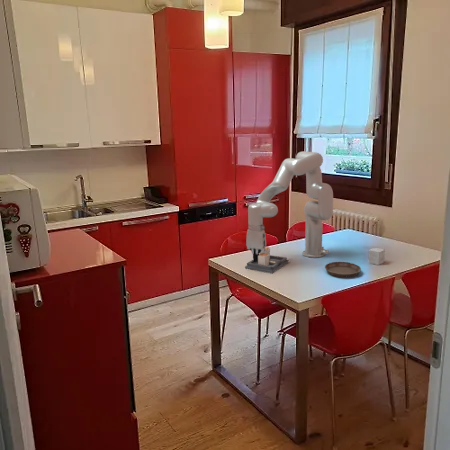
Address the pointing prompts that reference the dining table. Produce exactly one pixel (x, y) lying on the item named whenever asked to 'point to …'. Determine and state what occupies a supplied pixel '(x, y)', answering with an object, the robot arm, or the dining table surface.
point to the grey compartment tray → (274, 265)
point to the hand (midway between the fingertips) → (256, 260)
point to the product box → (376, 256)
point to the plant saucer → (342, 269)
